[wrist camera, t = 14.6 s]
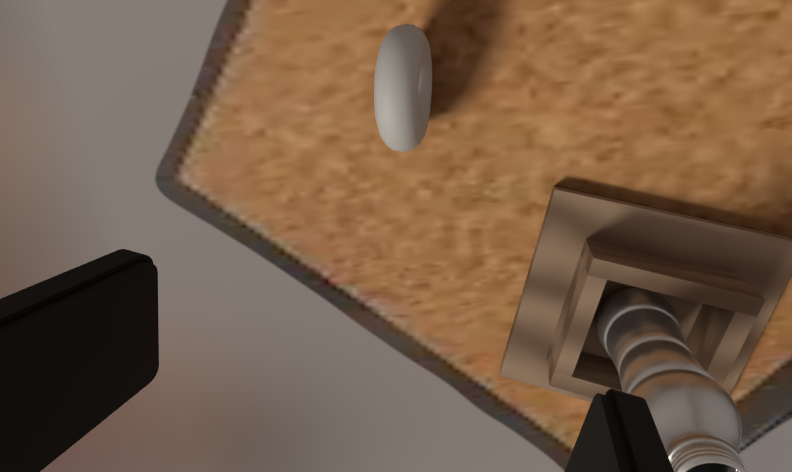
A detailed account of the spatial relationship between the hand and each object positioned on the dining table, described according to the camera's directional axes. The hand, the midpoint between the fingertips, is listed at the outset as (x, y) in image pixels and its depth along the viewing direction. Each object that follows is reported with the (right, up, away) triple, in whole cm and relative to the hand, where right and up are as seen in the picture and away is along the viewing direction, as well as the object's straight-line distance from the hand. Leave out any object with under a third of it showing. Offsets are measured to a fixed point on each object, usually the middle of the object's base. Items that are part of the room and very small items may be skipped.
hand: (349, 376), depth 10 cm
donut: (+3, +16, +34) cm, 37 cm away
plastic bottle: (+22, -4, +33) cm, 40 cm away
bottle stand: (+23, -4, +35) cm, 42 cm away
